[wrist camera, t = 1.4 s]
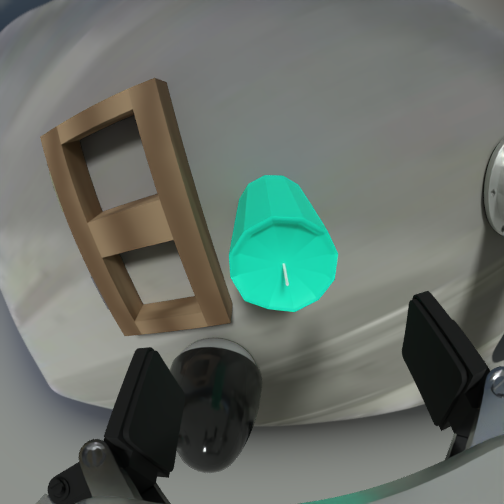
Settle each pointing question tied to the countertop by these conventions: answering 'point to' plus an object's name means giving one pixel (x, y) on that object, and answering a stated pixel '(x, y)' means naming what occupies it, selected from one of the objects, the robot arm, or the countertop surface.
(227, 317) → the socket block
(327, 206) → the countertop surface
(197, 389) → the pump dispenser
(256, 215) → the candle
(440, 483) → the robot arm
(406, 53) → the countertop surface
